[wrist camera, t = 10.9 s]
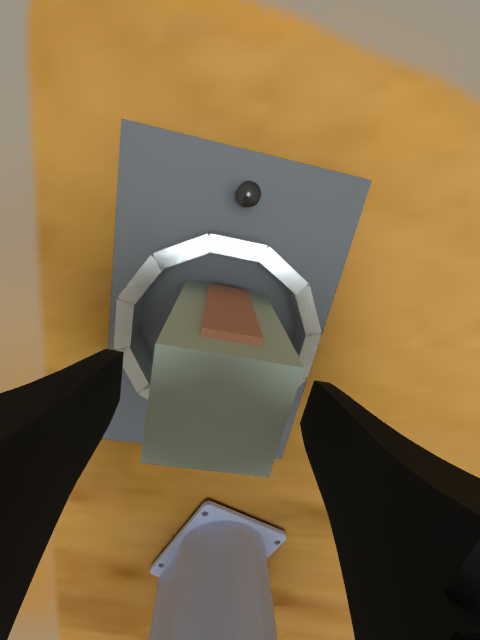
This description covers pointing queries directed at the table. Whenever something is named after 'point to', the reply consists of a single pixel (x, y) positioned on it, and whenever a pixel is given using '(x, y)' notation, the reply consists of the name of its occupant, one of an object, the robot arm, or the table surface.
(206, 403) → the pale green rectangular block
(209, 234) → the collar
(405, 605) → the robot arm
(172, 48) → the table surface
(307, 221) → the base board
